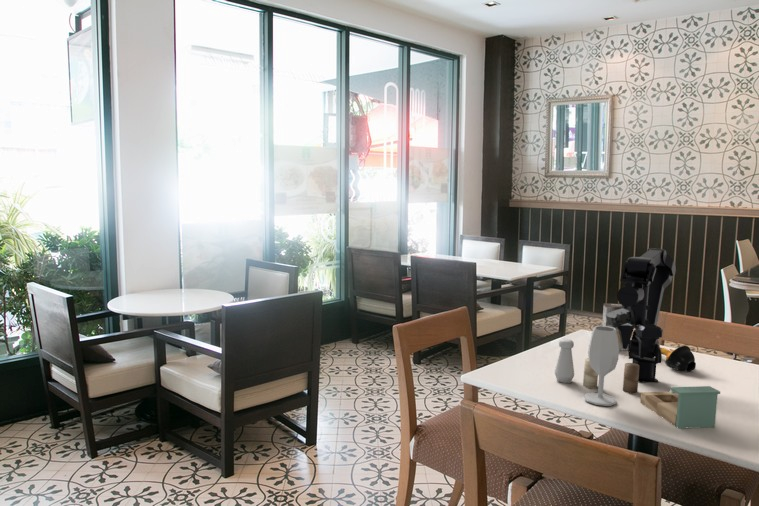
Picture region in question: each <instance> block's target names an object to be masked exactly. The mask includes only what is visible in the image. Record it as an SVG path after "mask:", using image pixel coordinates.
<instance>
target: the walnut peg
mask: <svg viewBox="0 0 759 506" xmlns="http://www.w3.org/2000/svg"><path fill="white" fill-rule="evenodd" d="M623 367H624V369H623V383H622V391H623V392H624V393H627V394H632V395H633V394H637V393H638V391H639V390H638V389H639V387H638V386H639V382H638V378H639V365H638V364H635V363H632V362H625V363H624V366H623Z"/></svg>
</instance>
